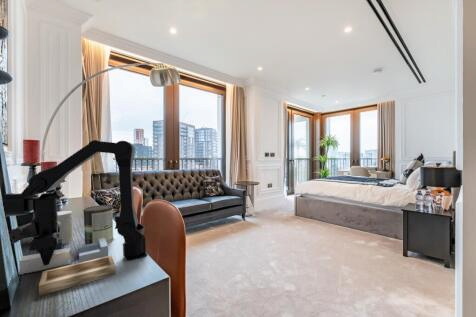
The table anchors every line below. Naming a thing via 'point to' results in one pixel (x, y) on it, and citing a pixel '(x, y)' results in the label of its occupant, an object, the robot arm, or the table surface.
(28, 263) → the steel block
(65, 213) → the cup
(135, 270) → the table surface
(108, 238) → the coffee can
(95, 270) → the oak tray
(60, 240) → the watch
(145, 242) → the robot arm
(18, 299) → the table surface
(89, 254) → the bracket
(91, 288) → the table surface
